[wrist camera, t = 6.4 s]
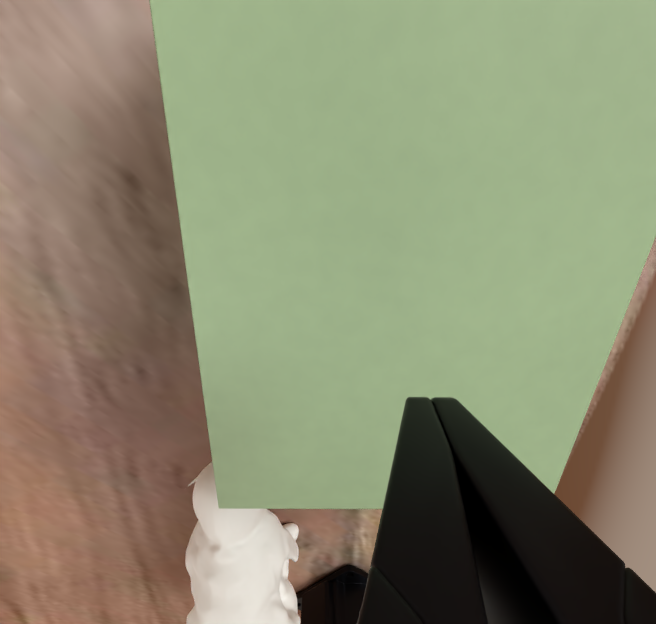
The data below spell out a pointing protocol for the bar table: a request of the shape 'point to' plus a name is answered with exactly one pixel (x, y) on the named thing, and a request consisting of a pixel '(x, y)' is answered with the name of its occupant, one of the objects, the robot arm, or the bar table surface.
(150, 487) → the bar table surface
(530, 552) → the robot arm
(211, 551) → the white animal figurine
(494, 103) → the lid
